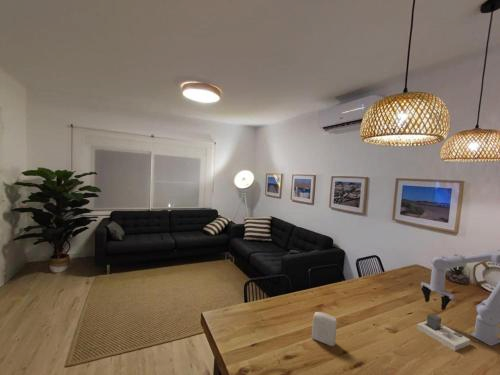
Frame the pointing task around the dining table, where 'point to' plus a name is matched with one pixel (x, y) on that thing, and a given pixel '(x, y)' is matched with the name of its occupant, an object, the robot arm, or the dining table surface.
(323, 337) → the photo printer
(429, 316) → the plug
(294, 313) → the dining table surface
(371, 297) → the dining table surface
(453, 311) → the dining table surface
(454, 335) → the sorting tray
